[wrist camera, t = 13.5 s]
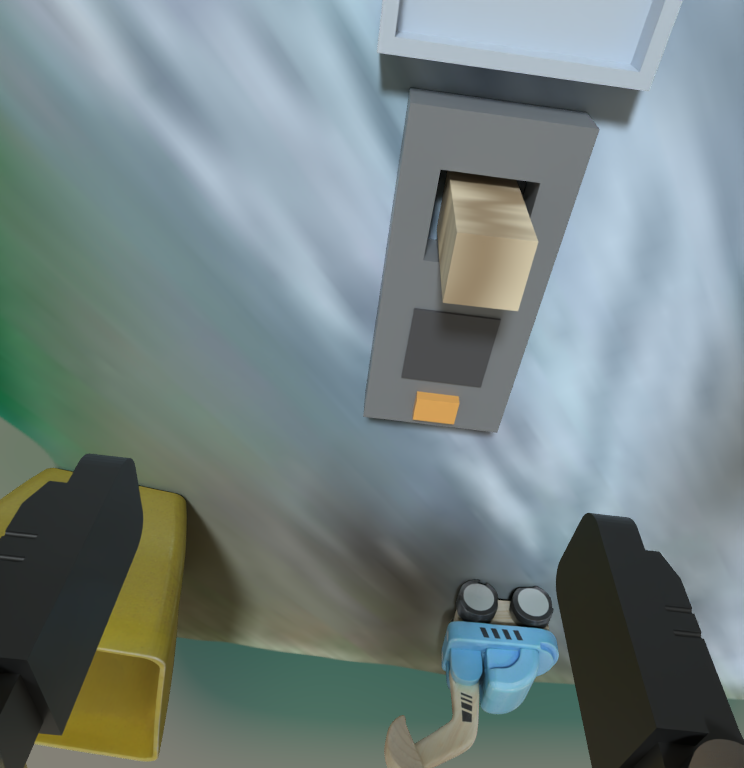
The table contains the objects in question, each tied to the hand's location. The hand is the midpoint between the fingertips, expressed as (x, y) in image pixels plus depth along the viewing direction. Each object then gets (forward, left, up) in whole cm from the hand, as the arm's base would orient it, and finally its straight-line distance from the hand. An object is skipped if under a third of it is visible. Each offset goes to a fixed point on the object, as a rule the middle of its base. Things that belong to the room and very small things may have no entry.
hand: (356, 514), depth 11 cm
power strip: (-6, +11, -30) cm, 33 cm away
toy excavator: (-15, +49, -30) cm, 60 cm away
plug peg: (-6, +6, -30) cm, 31 cm away
